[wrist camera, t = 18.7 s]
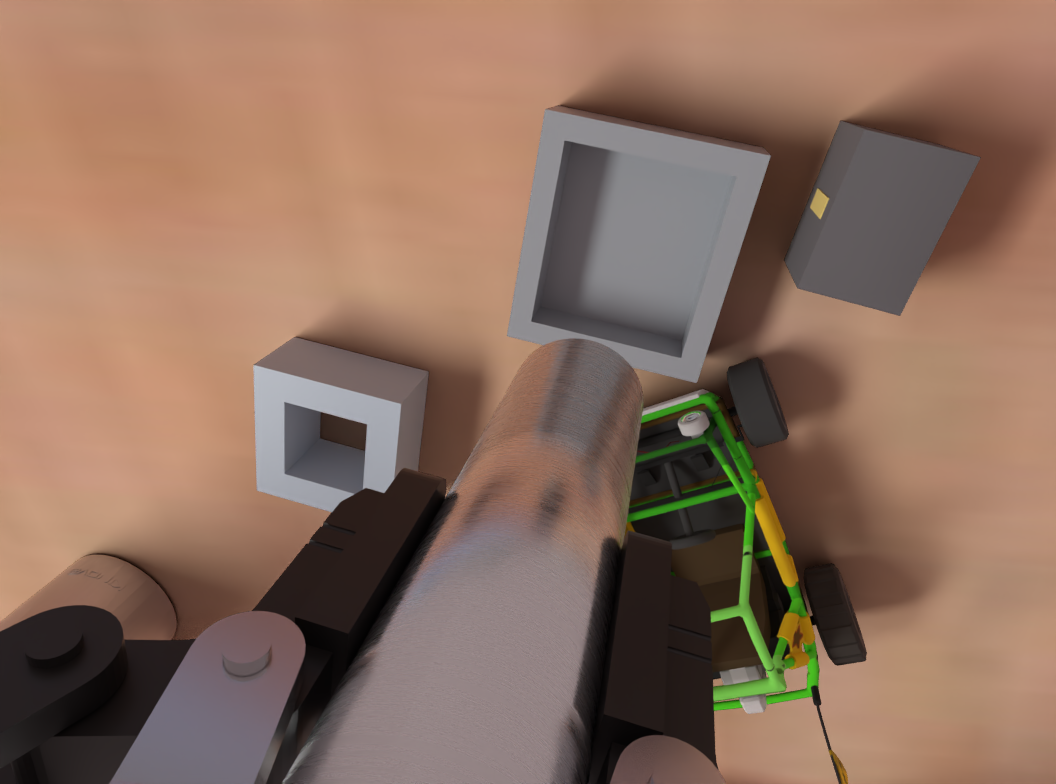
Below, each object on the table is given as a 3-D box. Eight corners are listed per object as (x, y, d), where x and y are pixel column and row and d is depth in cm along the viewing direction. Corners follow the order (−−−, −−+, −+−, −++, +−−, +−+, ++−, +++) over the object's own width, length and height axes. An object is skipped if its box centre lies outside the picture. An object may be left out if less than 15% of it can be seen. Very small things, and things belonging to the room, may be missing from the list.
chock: (940, 144, 27) (982, 157, 23) (873, 283, 30) (901, 315, 26) (838, 119, 27) (863, 128, 24) (782, 259, 30) (796, 287, 26)
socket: (416, 488, 40) (389, 528, 37) (293, 454, 41) (256, 490, 38) (429, 371, 37) (401, 403, 33) (294, 336, 38) (253, 364, 34)
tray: (696, 357, 33) (696, 383, 30) (521, 315, 34) (506, 336, 31) (763, 147, 28) (770, 155, 26) (558, 105, 29) (545, 109, 27)
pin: (625, 470, 17) (446, 1545, 5) (504, 437, 17) (39, 1355, 5) (658, 356, 15) (523, 1502, 3) (525, 324, 16) (-65, 1231, 4)
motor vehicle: (756, 340, 32) (781, 451, 23) (868, 634, 38) (924, 816, 29) (545, 413, 37) (495, 531, 27) (675, 667, 43) (671, 835, 33)
